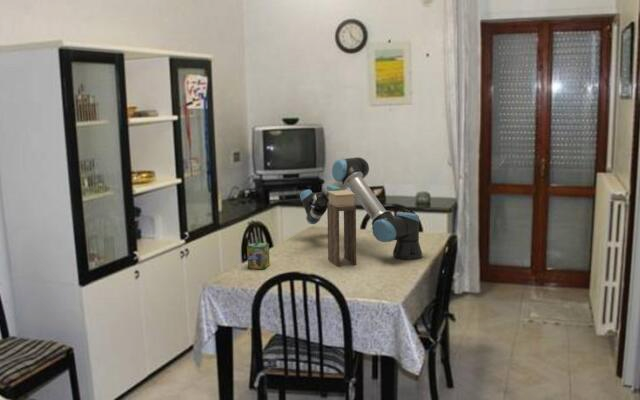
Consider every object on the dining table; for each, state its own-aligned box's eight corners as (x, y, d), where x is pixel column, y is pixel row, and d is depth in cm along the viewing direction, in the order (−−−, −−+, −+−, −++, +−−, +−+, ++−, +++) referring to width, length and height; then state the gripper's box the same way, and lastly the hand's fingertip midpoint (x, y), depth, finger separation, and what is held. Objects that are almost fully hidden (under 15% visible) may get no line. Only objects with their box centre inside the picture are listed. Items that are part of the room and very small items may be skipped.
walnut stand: (356, 265, 316) (355, 206, 311) (337, 266, 313) (336, 207, 308) (346, 257, 330) (345, 201, 325) (328, 259, 327) (327, 202, 323)
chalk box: (265, 269, 311) (264, 240, 308) (247, 269, 312) (246, 239, 310) (270, 264, 320) (269, 236, 317) (253, 264, 321) (251, 235, 319)
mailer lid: (355, 195, 311) (355, 191, 311) (336, 196, 308) (336, 192, 308) (339, 188, 334) (339, 185, 334) (321, 189, 331) (321, 186, 331)
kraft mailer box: (354, 205, 312) (354, 195, 311) (336, 206, 310) (336, 196, 309) (345, 201, 324) (345, 192, 324) (328, 202, 322) (328, 193, 321)
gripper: (340, 214, 359) (351, 201, 340) (298, 217, 352) (306, 204, 333) (338, 202, 361) (348, 188, 342) (296, 205, 354) (304, 191, 335)
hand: (327, 196), depth 337 cm, fingers open, 13 cm apart
